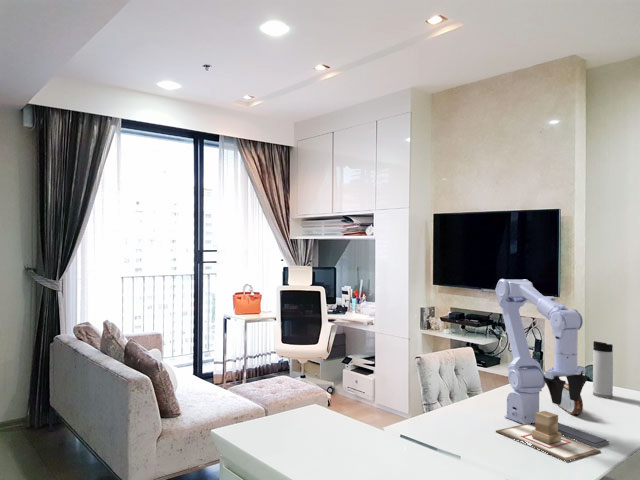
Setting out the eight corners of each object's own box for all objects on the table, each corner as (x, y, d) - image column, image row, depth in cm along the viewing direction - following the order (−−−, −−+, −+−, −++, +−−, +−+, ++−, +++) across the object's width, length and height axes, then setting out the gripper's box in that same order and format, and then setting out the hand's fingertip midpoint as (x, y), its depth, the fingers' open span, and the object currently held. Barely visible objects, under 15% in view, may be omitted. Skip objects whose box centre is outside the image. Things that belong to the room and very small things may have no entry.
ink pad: (595, 447, 127) (595, 443, 127) (539, 426, 142) (539, 423, 142) (608, 444, 130) (608, 439, 130) (552, 423, 145) (552, 420, 145)
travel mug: (588, 393, 178) (588, 340, 179) (601, 392, 180) (602, 339, 181) (602, 398, 172) (603, 343, 173) (616, 397, 174) (616, 342, 175)
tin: (583, 418, 151) (584, 391, 151) (573, 418, 151) (573, 391, 151) (560, 403, 166) (561, 379, 166) (551, 403, 166) (551, 378, 166)
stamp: (548, 445, 127) (549, 418, 127) (531, 438, 132) (532, 412, 132) (561, 441, 129) (561, 415, 130) (544, 435, 134) (544, 409, 134)
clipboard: (566, 462, 118) (566, 459, 118) (495, 431, 137) (495, 429, 137) (600, 452, 124) (600, 449, 124) (528, 424, 144) (528, 422, 144)
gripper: (561, 358, 126) (561, 409, 126) (595, 353, 133) (595, 402, 132) (538, 352, 132) (538, 402, 132) (572, 349, 139) (572, 395, 139)
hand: (565, 402), depth 133 cm, fingers open, 7 cm apart
